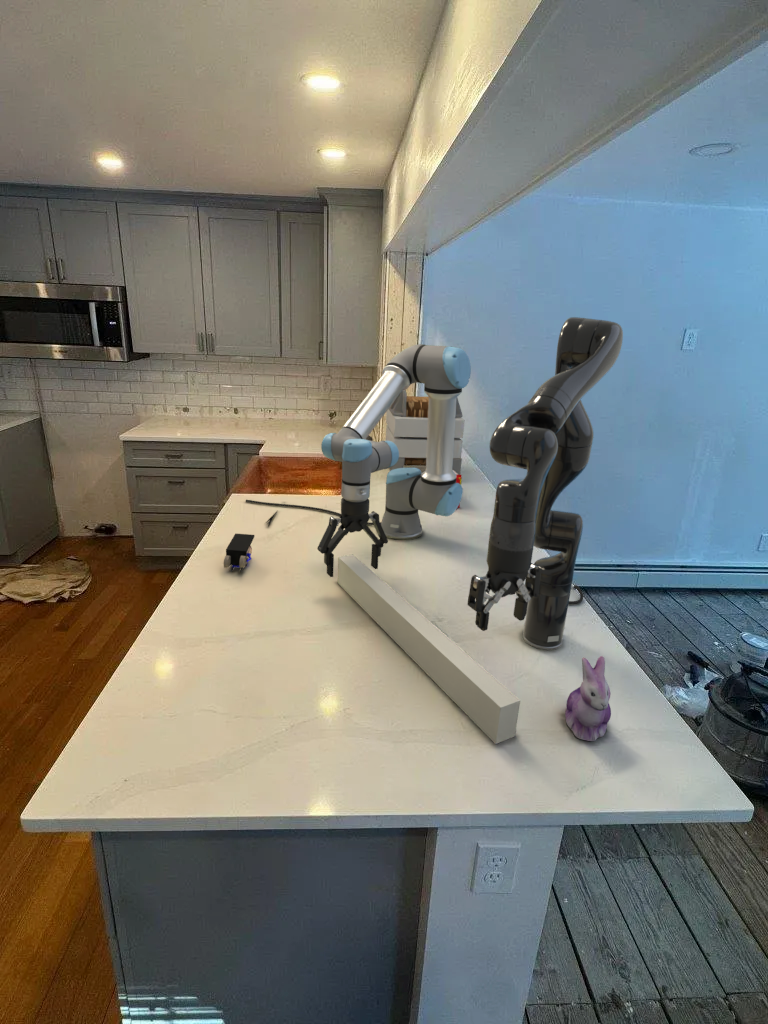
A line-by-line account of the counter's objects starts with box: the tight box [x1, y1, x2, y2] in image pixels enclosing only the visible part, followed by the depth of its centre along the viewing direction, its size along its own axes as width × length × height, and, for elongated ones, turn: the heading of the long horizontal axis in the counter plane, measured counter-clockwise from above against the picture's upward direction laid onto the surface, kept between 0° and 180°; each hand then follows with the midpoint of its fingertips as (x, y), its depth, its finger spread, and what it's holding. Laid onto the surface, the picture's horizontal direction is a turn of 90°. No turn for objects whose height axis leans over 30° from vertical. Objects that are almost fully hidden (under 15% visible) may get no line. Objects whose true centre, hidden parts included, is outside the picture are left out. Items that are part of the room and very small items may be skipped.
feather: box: [265, 511, 278, 527], centre depth 212 cm, size 2×28×2 cm
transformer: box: [384, 389, 465, 475], centre depth 268 cm, size 34×33×41 cm
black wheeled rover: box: [223, 533, 255, 573], centre depth 170 cm, size 7×8×15 cm
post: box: [337, 553, 521, 745], centre depth 133 cm, size 71×5×8 cm, turn 29°
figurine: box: [564, 655, 612, 742], centre depth 107 cm, size 9×10×15 cm
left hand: (352, 571), depth 157 cm, fingers open, 13 cm apart
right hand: (500, 623), depth 102 cm, fingers open, 8 cm apart
